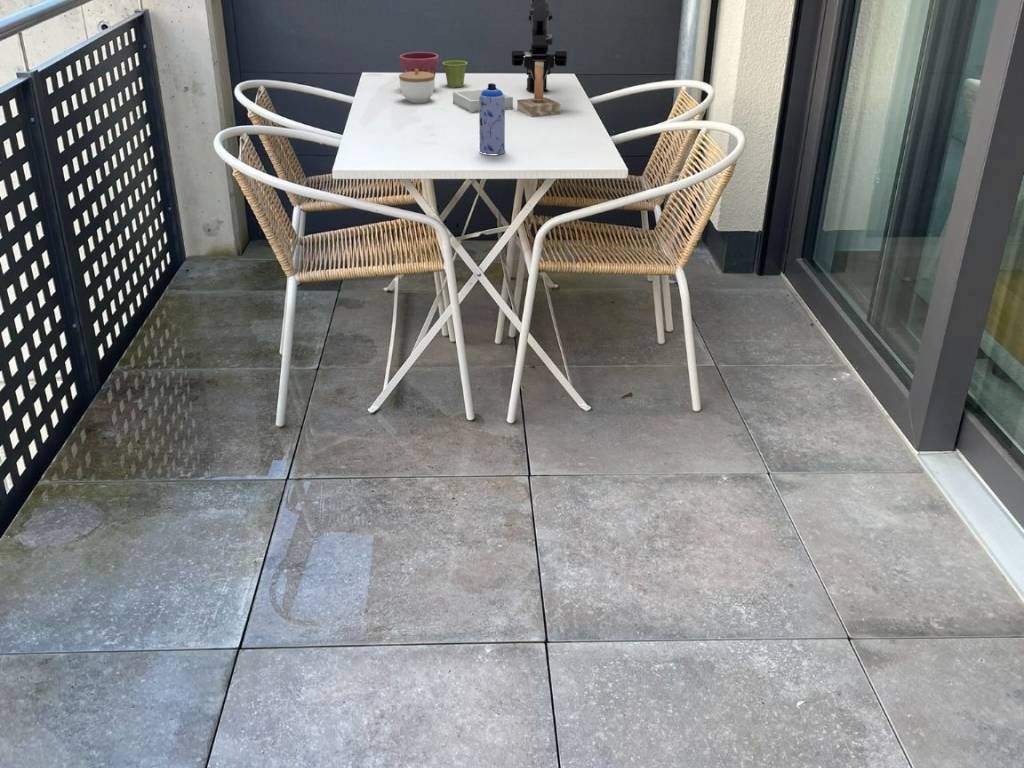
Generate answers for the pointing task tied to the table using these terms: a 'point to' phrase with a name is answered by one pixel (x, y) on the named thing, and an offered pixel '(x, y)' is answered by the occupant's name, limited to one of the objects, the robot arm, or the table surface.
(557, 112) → the hitch block
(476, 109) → the tray
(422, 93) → the lidded bowl
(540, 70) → the pin
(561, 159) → the table surface
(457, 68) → the plant pot
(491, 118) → the aerosol can
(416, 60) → the plant pot
